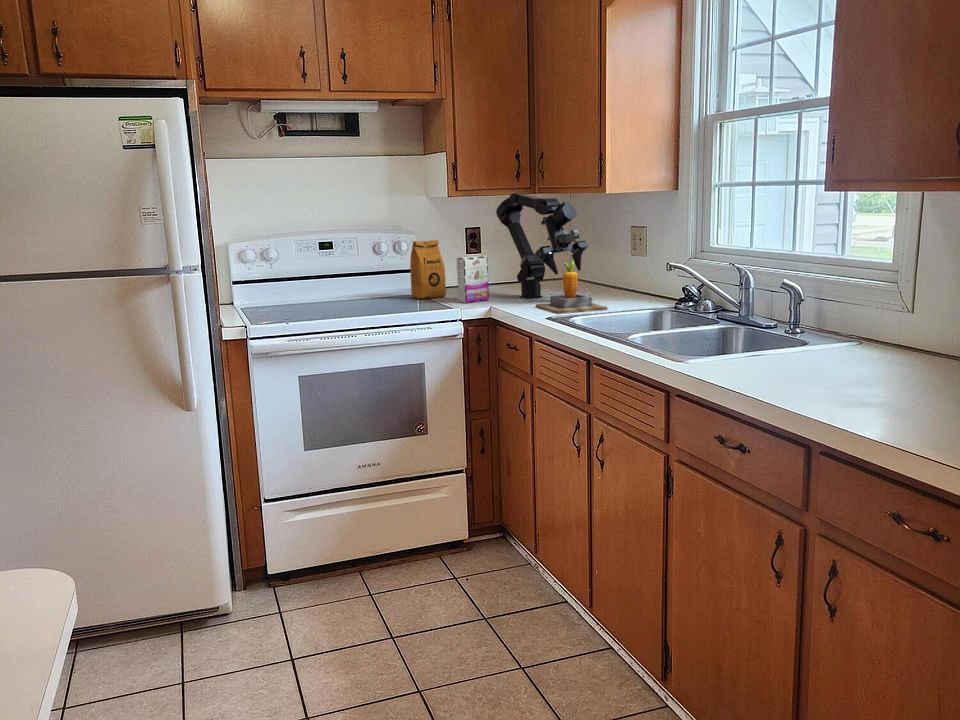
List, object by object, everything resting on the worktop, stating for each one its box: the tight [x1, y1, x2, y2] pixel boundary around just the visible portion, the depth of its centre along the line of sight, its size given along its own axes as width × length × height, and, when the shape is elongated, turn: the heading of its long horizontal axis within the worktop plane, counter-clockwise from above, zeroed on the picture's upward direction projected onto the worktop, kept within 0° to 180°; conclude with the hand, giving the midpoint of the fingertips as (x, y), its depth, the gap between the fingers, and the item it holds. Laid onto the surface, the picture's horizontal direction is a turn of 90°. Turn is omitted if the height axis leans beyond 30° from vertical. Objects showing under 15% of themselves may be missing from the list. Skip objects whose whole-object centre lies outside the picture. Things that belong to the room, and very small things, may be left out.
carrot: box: [562, 260, 578, 299], centre depth 281 cm, size 5×5×15 cm
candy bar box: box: [455, 255, 490, 304], centre depth 305 cm, size 11×5×16 cm, turn 130°
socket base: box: [535, 293, 608, 315], centre depth 282 cm, size 18×18×4 cm
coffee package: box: [409, 239, 447, 300], centre depth 318 cm, size 10×12×22 cm
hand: (568, 272), depth 293 cm, fingers open, 9 cm apart
